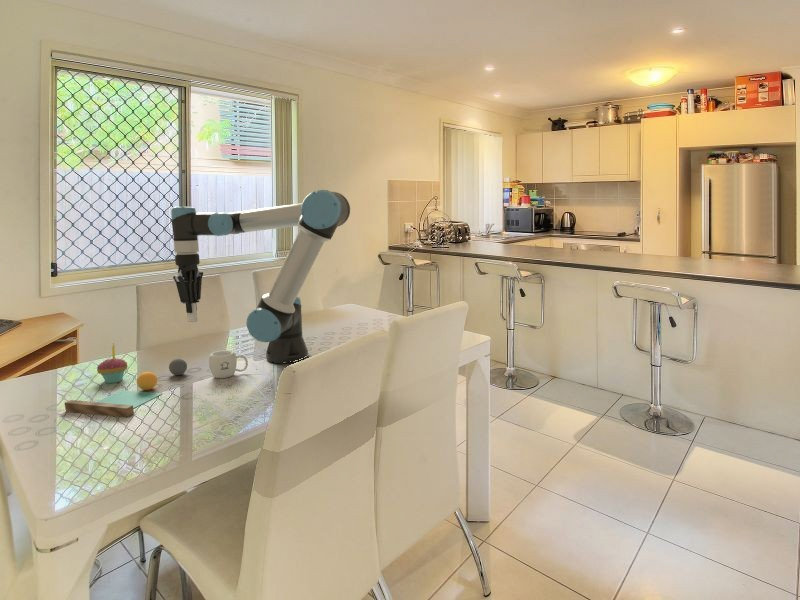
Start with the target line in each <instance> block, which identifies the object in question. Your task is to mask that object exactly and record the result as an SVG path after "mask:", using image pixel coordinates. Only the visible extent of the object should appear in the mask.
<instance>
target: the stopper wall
mask: <svg viewBox="0 0 800 600" xmlns="http://www.w3.org/2000/svg"><path fill="white" fill-rule="evenodd" d="M64 408H65V409H64V410H65V412H67V411H70V412H69V413H77V414H78V413H79V414H88V415H89V414H90V415H100V416H110V417H120V418H130V417H132V416H134V415H135V411H134V409H133V405H122V404H111V403H100V402H97V401H86V400H74V399H70V400H67V401H65V402H64Z"/></svg>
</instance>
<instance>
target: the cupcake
mask: <svg viewBox="0 0 800 600" xmlns="http://www.w3.org/2000/svg"><path fill="white" fill-rule="evenodd" d="M115 348H116V347H115V344H114V342H113V343H112V345H111V350H112V354H111V355H112V356H111V357H112V358H110V359H106V360H103V361H102V362H100V363H99V364H98V365H97V367H96V371H97V374H100V375H101V377H102V378H103V379H104V381H105V383H108V384H113V383H117V382H118V383H119V382H121V381H123V378H124V374H125V372H126V370H128V362H127V361H125V360H124V359H121V358H118V357H117V358H116V350H115Z"/></svg>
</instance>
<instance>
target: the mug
mask: <svg viewBox="0 0 800 600" xmlns="http://www.w3.org/2000/svg"><path fill="white" fill-rule="evenodd" d="M239 358H242V359H244V362H245V366H244V367H243V368H242V369H238V368H237V363H238V362H237V359H239ZM208 365H209V370H210V373H211V375H212V376H213V378H215V379H228V378H231V377H232V376H234V375H235V372H244V371H246V370H247V369H248V366H249V362H248V359H247V357H246V356H244V355H242V354H239V355H236V352H235V351H233V350H229V349H228V350H225V349H224V350H216V351H213V352H211V353H210V354H209V357H208Z"/></svg>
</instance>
